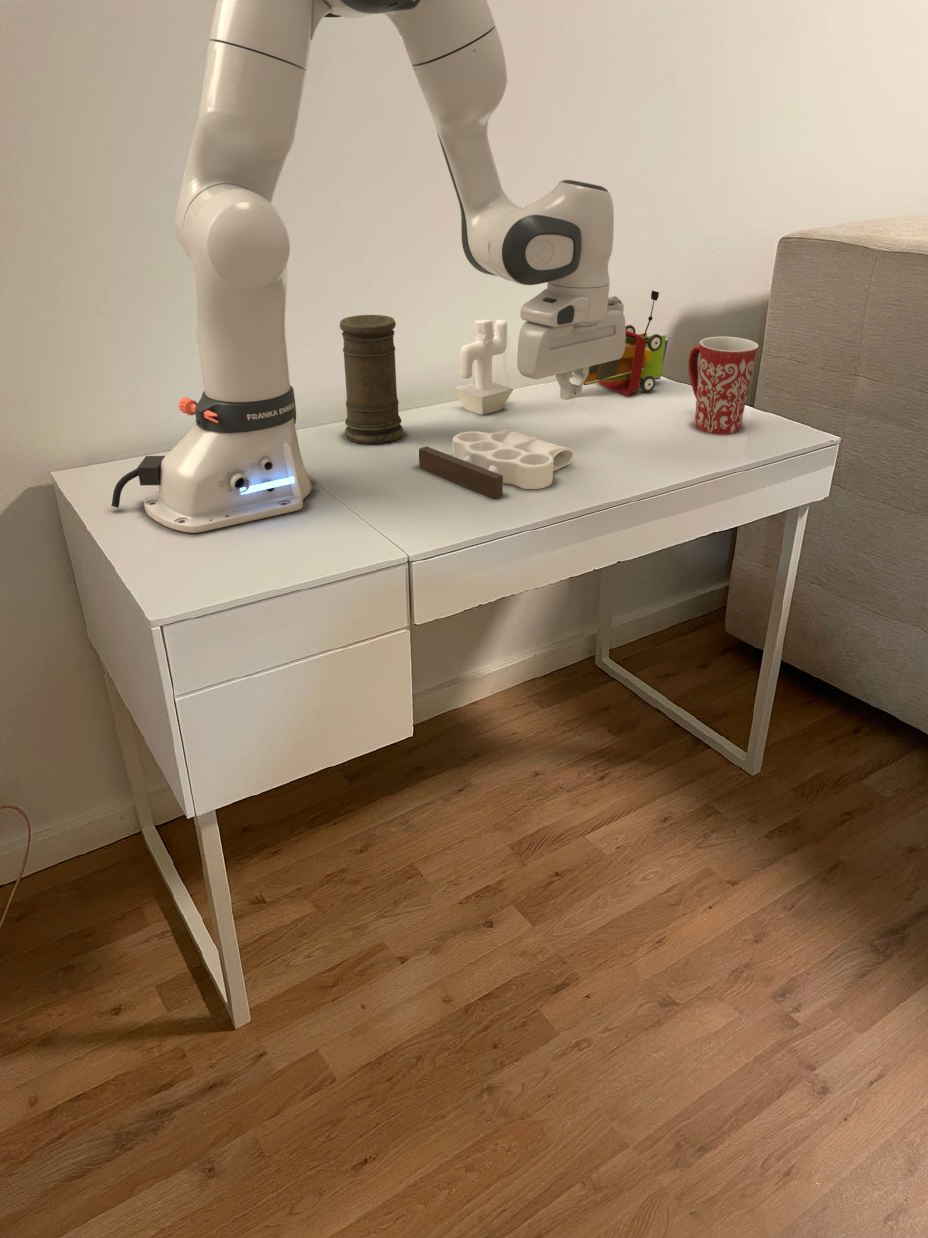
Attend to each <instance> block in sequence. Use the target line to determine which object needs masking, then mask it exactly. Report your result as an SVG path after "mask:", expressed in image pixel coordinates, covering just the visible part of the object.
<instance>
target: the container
mask: <svg viewBox="0 0 928 1238" xmlns="http://www.w3.org/2000/svg"><path fill="white" fill-rule="evenodd" d="M396 326H397V322H396V320H395V319H394V318H393V317H392V316H388V315H383V314H360V315H351V316H348V317H344V318H342V319H341V320H340V322H339V328H340V330H341V331H342V333H341V336H342V339H343V348H342V352H343V362H344V363H343V364H344V375H345V376H344V377H345V379H344V380H345V393H346V400H345V407H346V419H345V421H344V424H345V426H346V427H345V430H344V434H345V437H346V439H347V440H348V441H350V442H354V443H357V444H363V445H380V444H386V443H391V442H394V441H396V440H398V439H400V438H401V437H402V436H403V432H404V430H403V426H402V425H401V423H402V418H401V416H400V415H399V414H400V413H399V403H400V402H399V399H398V392H397V391H398V390H397V371H396V352H395V351H396V346H395V342H394V337H395V331H394V329H395V328H396Z"/></svg>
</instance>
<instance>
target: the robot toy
mask: <svg viewBox="0 0 928 1238" xmlns="http://www.w3.org/2000/svg"><path fill="white" fill-rule="evenodd" d="M659 296H660V291H656V290H651V293H650V300H652V306H651V311H650V315H649V316H648V318H647V319H648V322H647V324H646V328H645V330H644V333H639V334H638V333H636V328H635V327H634V326H633V324H627V325H625V327H626V340H625V351H624V354H623V356H622V357H621V358H620V359H617V360H613V361H609V362H605V363H601V364H597V365H593V366H589V374H588V376H587V378H586V380H585V382H584V384H583V386H588V385H593V384H597V383H598V384H599V385H602V386H604V387H606V388H608V389H610V390H613V391H614V392H617V393H619V394H621V395H623V396H625V397H630V396H631V395H632V394H633V393H635V392H637V391H639V388H640V387H641V390H642V391H643V392H645V393H650V392H651V391H653V390H654V388H655V386H656V380H660V379H661V378H662V371H663V368H664V367H663V366H664V363H665V357H666V354H667V348H668V345H669V344H668V343H669V337H667V335H666V334H665V335H660V334H658V333H655V334H652V335H649V336H648V332H647V331H648V329H649V326H650V323H651V321H653V310H654V304H655V301H658V299H659ZM574 373H575V372H573V373H572V377H571V378H573V375H574Z"/></svg>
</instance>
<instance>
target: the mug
mask: <svg viewBox="0 0 928 1238" xmlns="http://www.w3.org/2000/svg"><path fill="white" fill-rule="evenodd" d="M759 347H760V345H759V344H758V343H757V342H756V341H754V340H751V339H746V338H743V337H736V336H710V337H705V338H702V339H701V340H700V341H699V342H698V345H695V346H693V347H692V348H691V350H690V353H689V357H688V364H687V365H688V366H687V367H688V375H689V381H690V384H691V388H692V391H693V394H694V397H695V399H696V401H695V413H694V427H696V428H697V429H698V430H700V431H702V432H705V433H710V434H715V435H716V434H717V435H728V434H729V435H730V434H734V433H738V431H740V430H741V428H742V423H743V417H744V412H745V407H746V403H747V397H748V393H749V389H750V388H749V387H750V384H751V379H752V375H753V369H754V365H755V360H756V355H757V351H758V349H759Z"/></svg>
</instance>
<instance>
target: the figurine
mask: <svg viewBox="0 0 928 1238" xmlns="http://www.w3.org/2000/svg"><path fill="white" fill-rule="evenodd" d="M494 323H495V324H494ZM474 336H475V337H474V339H475V340H474V342H471V343H466V344H464V345H463V346H462V347H461V349H460V351H459V376H460V377H461V378H463V379H471V378H472V377H473V364H474V363H475V368H474V371H475V372H474V373H475V374H474V375H475V376H474V382H471V383H467V384H463V385H459V386H455V387H453V390H454V392H455V394H456V395H457V397H458V399H459V400H460V402H461V404H462V405H463V408H464V409H465V410H466V411H470V412H473V413H475V414H479V415H481V416H484V415H487V414H491V413H495V412H498V411H502V409H503V408H504V406H505V404H506V403H507V401H508V399H509V397H510V396H511V394H512V393H513V391H514V388H513V387H510V386H506V385H503V384H500V383H496V382H493V357H495V356H499V355H502V354H504V353H505V352H506V350H507V347H508V323H507V321H506V320H505V319H501V318H500V319H496V320H495V322H494V321H493V320H492V319H488V318H487V319H486V318H485V319H477V320H474ZM474 361H475V362H474Z"/></svg>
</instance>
